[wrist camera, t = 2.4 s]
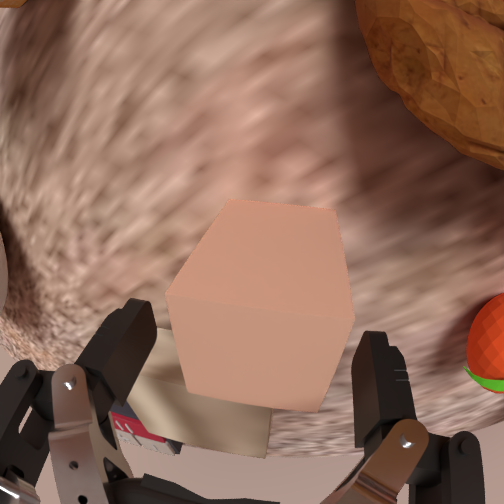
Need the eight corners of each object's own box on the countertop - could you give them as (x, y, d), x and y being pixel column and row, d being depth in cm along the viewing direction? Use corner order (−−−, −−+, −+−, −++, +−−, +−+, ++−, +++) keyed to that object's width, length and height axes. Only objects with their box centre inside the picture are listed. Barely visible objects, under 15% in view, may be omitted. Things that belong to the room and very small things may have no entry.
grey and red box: (178, 459, 32) (91, 431, 33) (185, 435, 35) (100, 411, 37) (157, 429, 26) (58, 394, 28) (168, 399, 30) (71, 371, 31)
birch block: (280, 342, 20) (271, 400, 16) (272, 416, 26) (265, 458, 22) (133, 319, 22) (104, 363, 18) (164, 396, 28) (148, 432, 24)
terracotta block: (335, 209, 14) (354, 318, 8) (319, 294, 17) (317, 412, 10) (229, 198, 15) (165, 293, 8) (230, 283, 18) (187, 392, 11)
